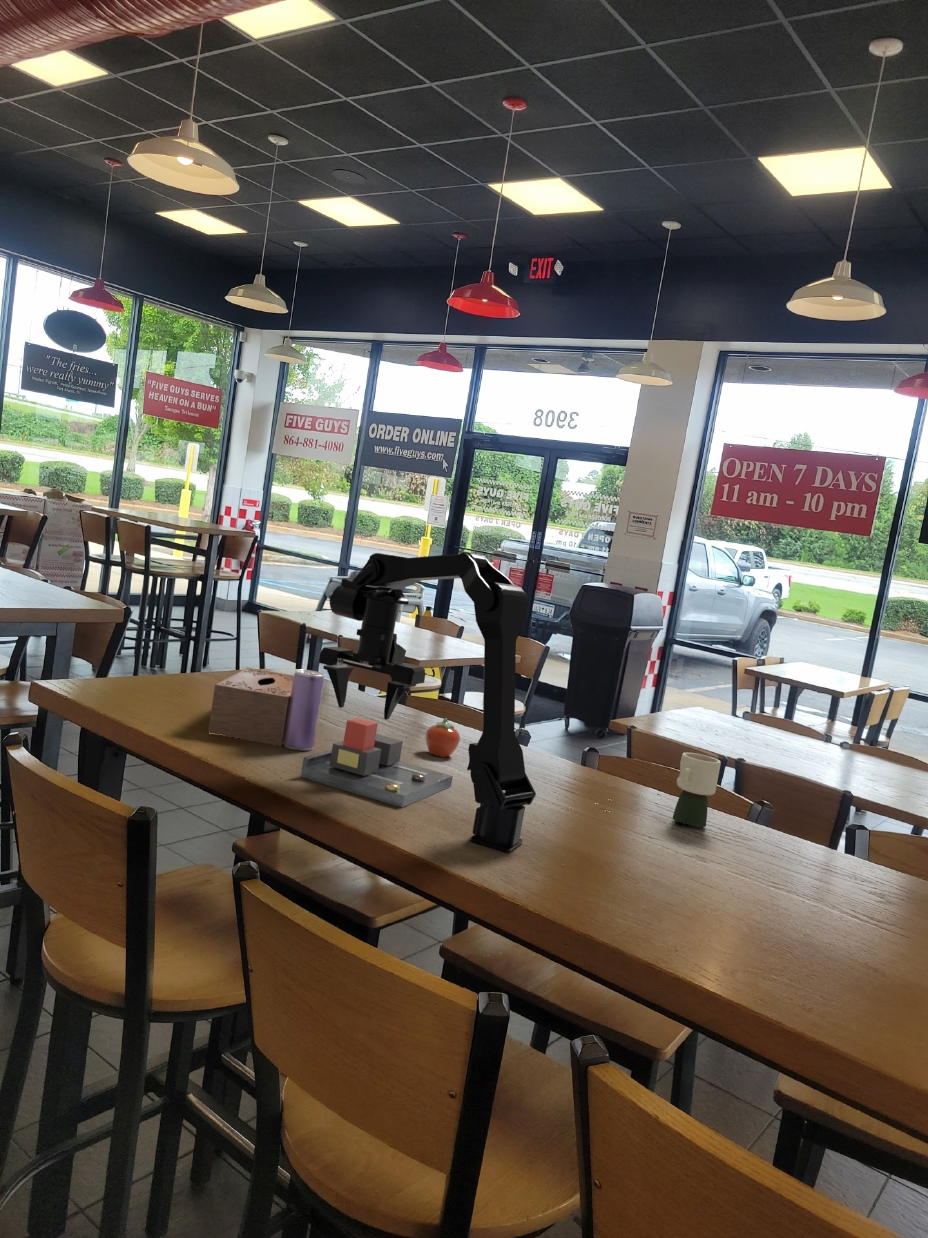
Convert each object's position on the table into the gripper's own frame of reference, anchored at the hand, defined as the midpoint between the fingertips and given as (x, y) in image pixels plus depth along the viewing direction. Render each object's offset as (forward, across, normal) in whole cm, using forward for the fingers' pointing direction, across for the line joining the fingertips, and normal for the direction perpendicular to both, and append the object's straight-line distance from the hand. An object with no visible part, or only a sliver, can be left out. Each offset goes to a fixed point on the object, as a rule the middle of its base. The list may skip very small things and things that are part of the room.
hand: (363, 713), depth 156 cm
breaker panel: (+12, -3, -4) cm, 13 cm away
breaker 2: (+10, +1, -10) cm, 14 cm away
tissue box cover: (+13, +33, -18) cm, 40 cm away
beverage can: (+13, +19, -11) cm, 25 cm away
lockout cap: (+6, 0, 0) cm, 6 cm away
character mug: (+12, -54, -33) cm, 65 cm away
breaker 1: (+10, 0, 0) cm, 10 cm away
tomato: (+13, -1, -35) cm, 37 cm away
